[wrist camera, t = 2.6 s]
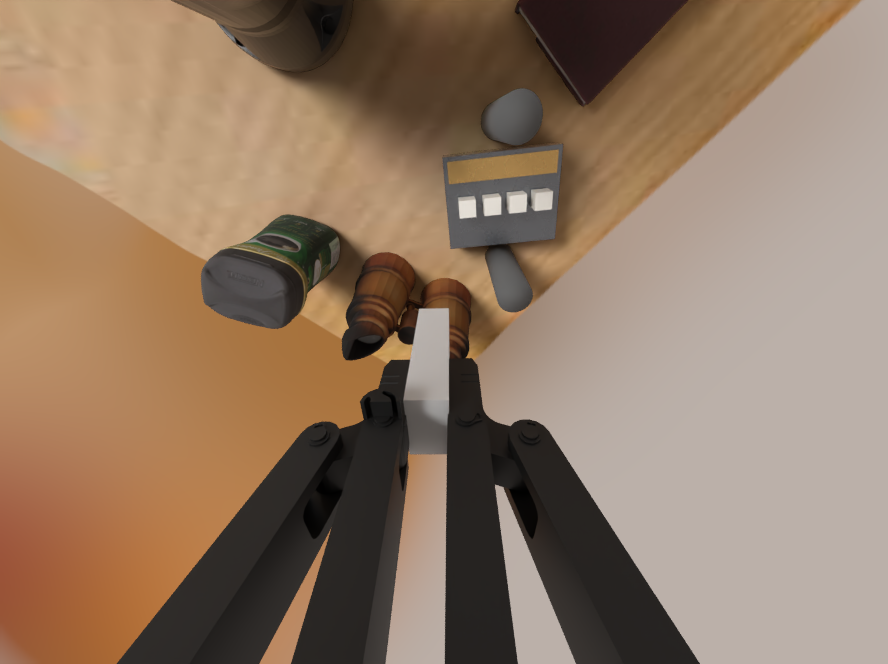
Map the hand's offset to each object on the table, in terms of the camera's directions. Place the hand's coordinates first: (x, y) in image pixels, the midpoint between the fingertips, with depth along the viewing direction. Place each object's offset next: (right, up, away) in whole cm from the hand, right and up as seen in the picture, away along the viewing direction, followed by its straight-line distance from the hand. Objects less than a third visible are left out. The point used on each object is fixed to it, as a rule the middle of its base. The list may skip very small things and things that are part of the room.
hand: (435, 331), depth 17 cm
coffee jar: (-20, +13, +31) cm, 39 cm away
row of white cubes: (+8, +16, +23) cm, 30 cm away
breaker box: (+8, +19, +27) cm, 34 cm away
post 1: (+7, +26, +22) cm, 35 cm away
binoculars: (-4, +7, +35) cm, 36 cm away
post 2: (+9, +12, +31) cm, 35 cm away
